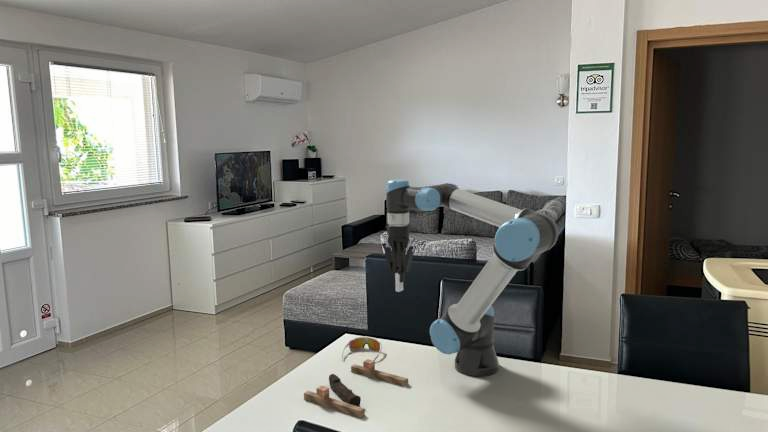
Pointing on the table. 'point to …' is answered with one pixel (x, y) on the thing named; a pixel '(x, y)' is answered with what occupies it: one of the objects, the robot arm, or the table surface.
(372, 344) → the sunglasses
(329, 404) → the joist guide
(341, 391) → the dark brown wooden log
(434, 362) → the table surface
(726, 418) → the table surface
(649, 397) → the table surface
